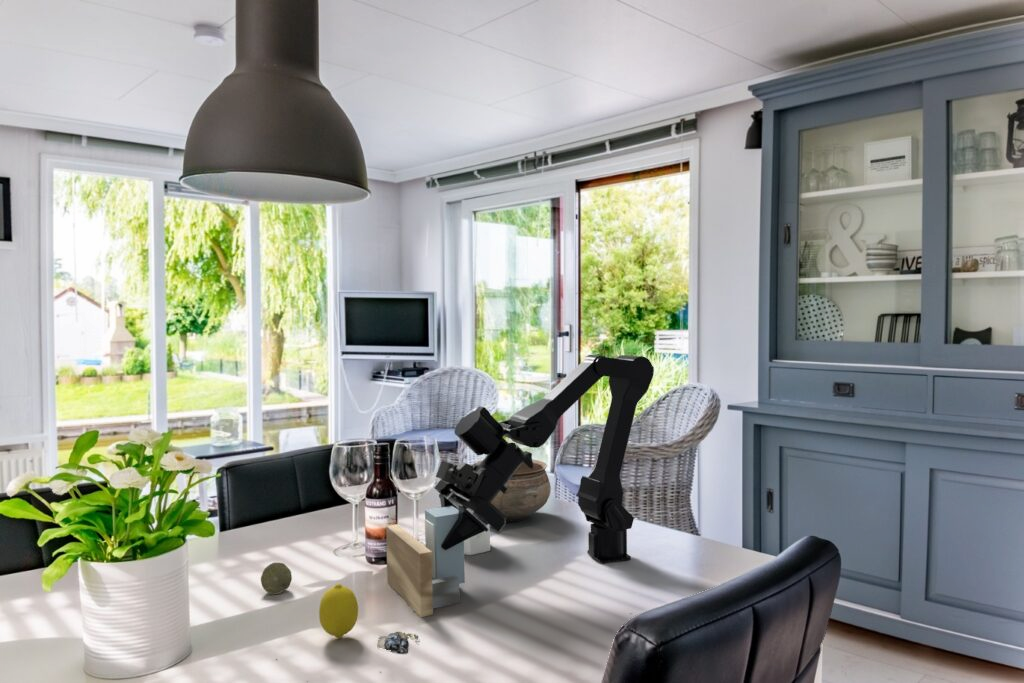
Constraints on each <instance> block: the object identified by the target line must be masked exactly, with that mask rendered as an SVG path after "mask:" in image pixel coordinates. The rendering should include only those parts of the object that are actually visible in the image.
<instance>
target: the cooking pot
mask: <svg viewBox="0 0 1024 683" xmlns="http://www.w3.org/2000/svg"><path fill="white" fill-rule="evenodd" d="M482 461H483V460H479V461H477V462H475V463H472V465H474V464H476V465H480V463H481V462H482ZM532 461H533V468H528V467H525V466H523V465H520V466H519V467H518V469H517V470H516V471H515V473H514V474H513V475H512V476H511V478H510V479H509V480H508V481H507V483H506V484H505V485H504V486H505V487H506V488H507V490H506V492H505V493H502V492H499V493H498V494H497V496H496V497H495V498H494V499H493V501H492V502H491V503H492V504H493V505H494V506H495V507H496V508H497V509H498V510H499V511H500V512H501V513H502V514H504V515H505V516H506V523H513V522H521V521H522V520H523V521H524V520H525V519H526V518H528V517H529V516H531V515H532V514H534V513H536V512H538V511H539V510H540V509H542V508H543V507H544V506H545V505H546V504H547V503H548V502H547V501H548V500H549V497H550V496H551V490H552V488H551V483H550V478H549V476H548V474H547V471H546V468H548V464H547V463H546V462H544V461H541V460H539V459H533V458H532Z"/></svg>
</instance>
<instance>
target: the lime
mask: <svg viewBox="0 0 1024 683" xmlns="http://www.w3.org/2000/svg"><path fill="white" fill-rule="evenodd" d="M292 580H293V577H292V571H291V570H290V568H289V567H288V566H287V565H286V564H285V563H283V562H276V561H275V562H272V563H270V564H268V565H267V566H266V567H265V568H264V570H262V574H261V577H260V583H261V586H262V588H263V591H265V592H266V593H267V594H268V595H278V594H281V593H283V592H284V591H286V590H287V589H288V588H289V587H290V585H291V582H292Z"/></svg>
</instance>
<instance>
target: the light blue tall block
mask: <svg viewBox="0 0 1024 683" xmlns="http://www.w3.org/2000/svg"><path fill="white" fill-rule="evenodd" d="M458 515H459V510H458V509H456V508H455V507H453V506H448V507H441V506H440V507H437V508H435V507H434V508H430V509H428V508H427V509H424V534H425V535H424V536H425V538H424V539H425V547H427V548H428V549H429V550H430V551H432V580H436V579H441V578H446V577H451V576H457V577H458V578H459V585H461V584H465V583H466V580H465V577H466V576H465V554H464V541H463V542H461V543H459V544H457V545H455V546H453V547H451V548H449V549H447V550H444V549H443V548H442V547H441V545H442V543H443V541H444V540H445V538H446V536H447V535H448V533H449V532H450V530H451V529H452V527H453V526H454V524H455V522H456V521H457V519H458Z"/></svg>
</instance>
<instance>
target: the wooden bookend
mask: <svg viewBox="0 0 1024 683" xmlns="http://www.w3.org/2000/svg"><path fill="white" fill-rule="evenodd" d="M385 527H386V528H385V532H386V534H385V536H386V573H387V574H386V576H387V578H386V580H387V583H388V584H389V585H390V587H392V588H393V590H395V592H396V593H397V594H398V595H399V596H400V597H401V598H402V599H403V600H404V602H405V603H407V604H408V606H410V608H411V609H412V610H413V611H414V612H415V613H416V614H417V615H418V616H419V617H420V618H423V617H429V616H433V615H434V609H435V608H441V607H446V606H450V605H451V606H452V605H455V604H460V584H459V578H458V577H457V576H451V577H446V578H441V579H436V580H432V551H430V550H429V549H428V548H427V547H426V545H424V544H423V543H422V542H420V541H419V540H418V539H416V537H414V535H412V534H410V533H408V532H407V530H405V529H404V528H402V527H401V526H400V525H399V524H397V523H396V524H389V525H386V526H385Z"/></svg>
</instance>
